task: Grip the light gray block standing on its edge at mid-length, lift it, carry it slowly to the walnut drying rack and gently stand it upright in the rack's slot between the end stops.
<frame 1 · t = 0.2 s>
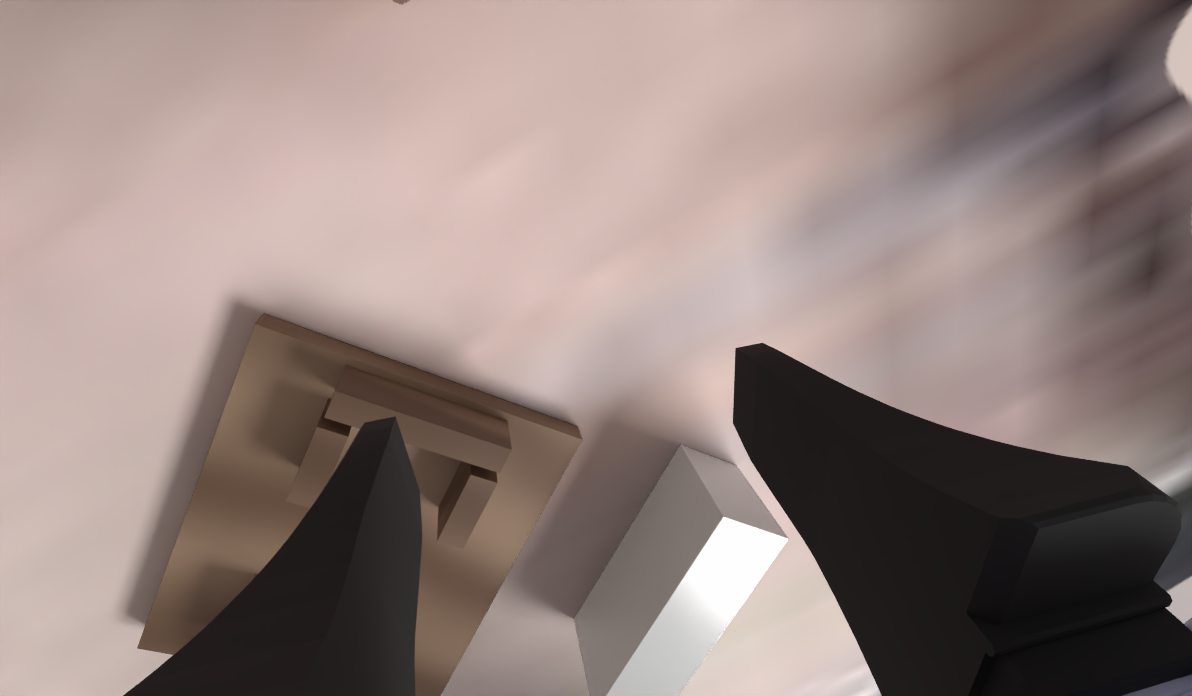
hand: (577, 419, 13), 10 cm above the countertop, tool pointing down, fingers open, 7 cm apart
light gray block: (652, 542, 29), on the countertop
rack: (364, 526, 25), on the countertop
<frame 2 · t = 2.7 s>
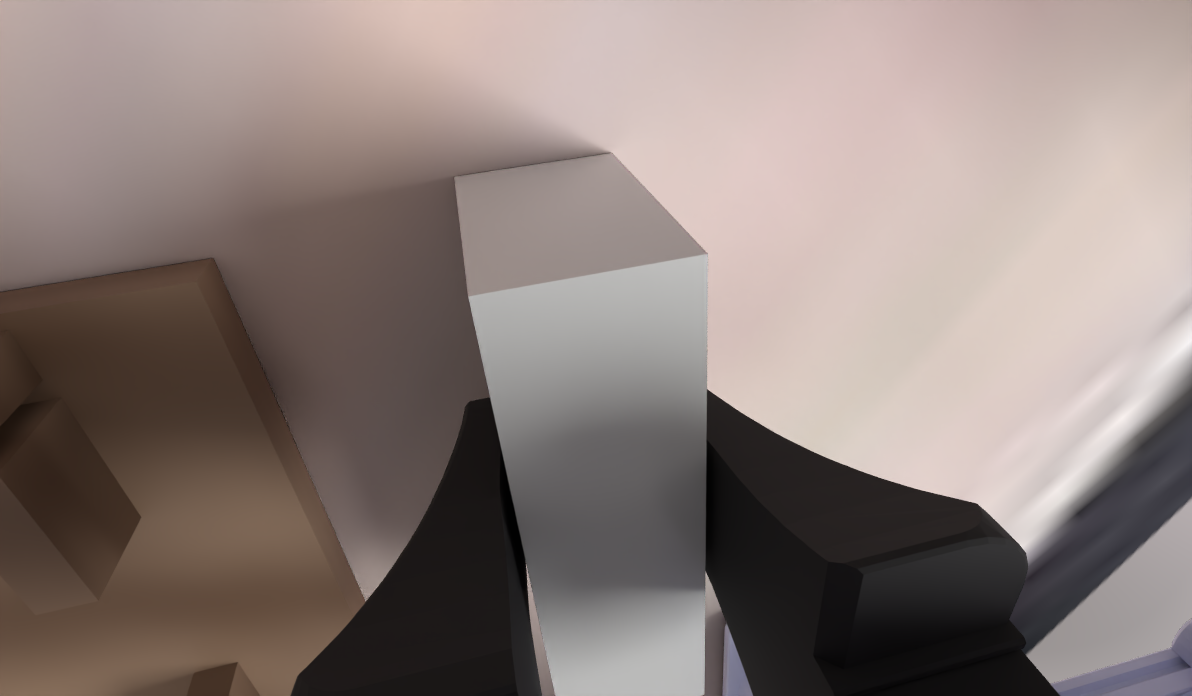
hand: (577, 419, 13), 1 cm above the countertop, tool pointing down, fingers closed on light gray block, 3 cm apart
light gray block: (564, 381, 15), on the countertop, touching gripper
rack: (63, 593, 15), on the countertop
when the fingers open (3 cm above the countertop, at t = 8.9 s): light gray block stays where it is, resting on rack.
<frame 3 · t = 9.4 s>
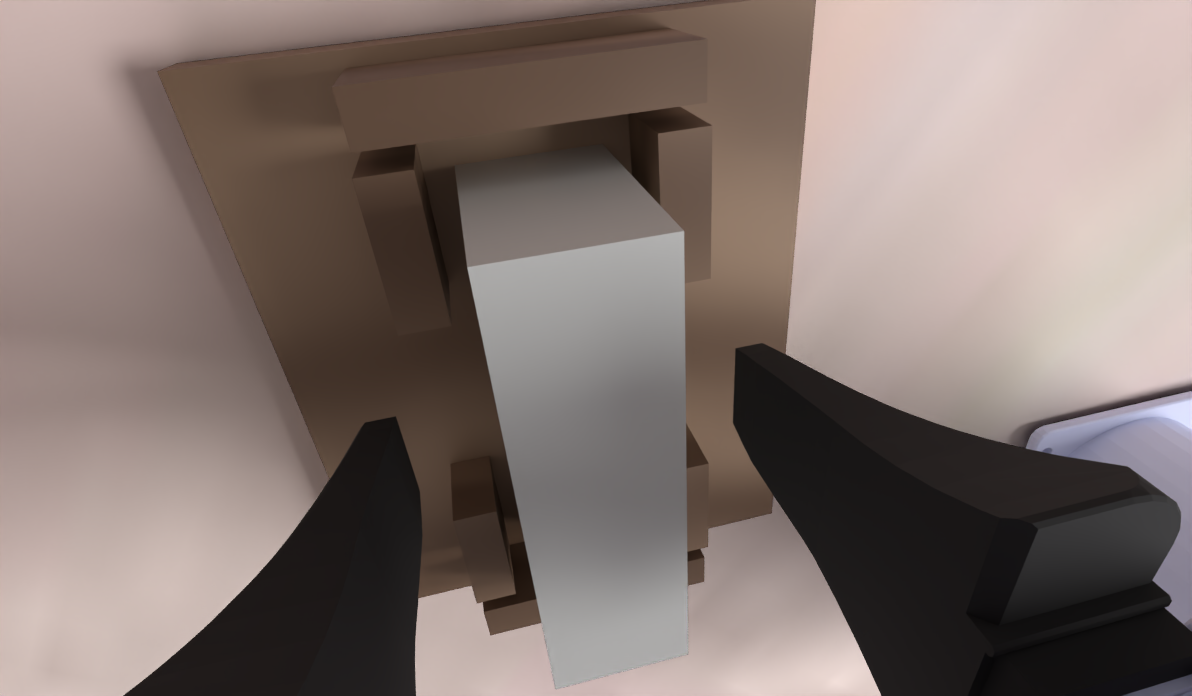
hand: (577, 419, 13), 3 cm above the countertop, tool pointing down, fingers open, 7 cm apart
light gray block: (558, 361, 15), point 1 cm above the countertop, touching rack
rack: (551, 338, 16), on the countertop
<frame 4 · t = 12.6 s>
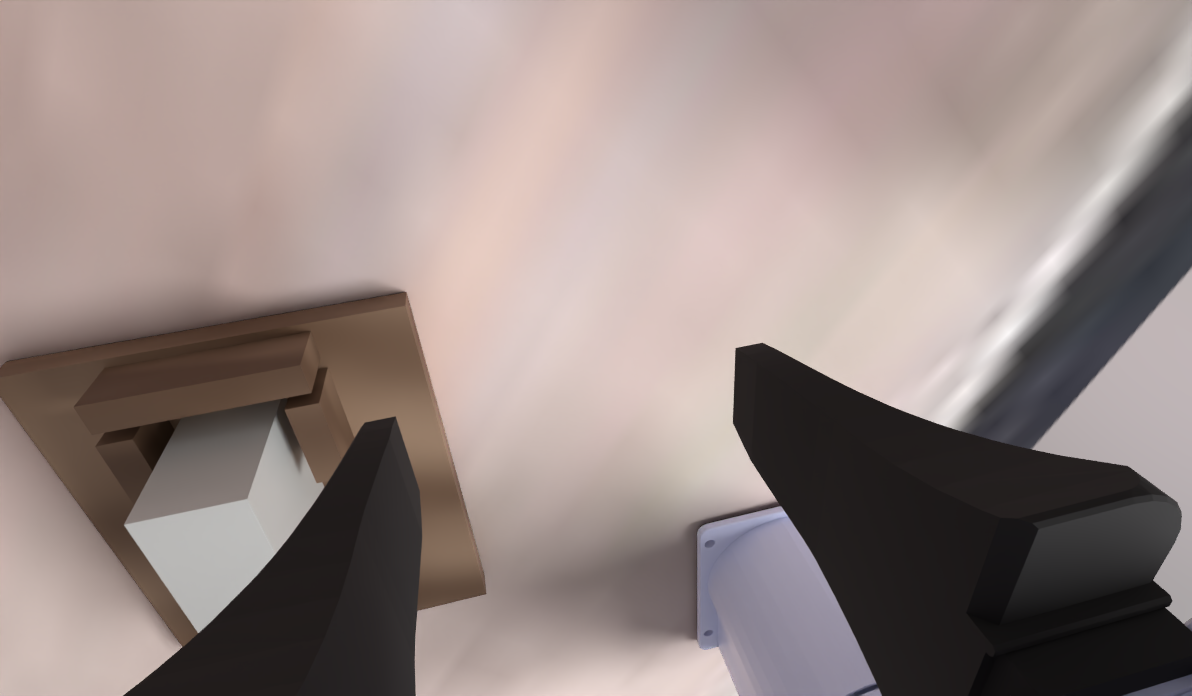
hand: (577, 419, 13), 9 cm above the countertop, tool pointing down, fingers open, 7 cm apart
light gray block: (287, 509, 23), point 1 cm above the countertop, touching rack
rack: (291, 489, 24), on the countertop
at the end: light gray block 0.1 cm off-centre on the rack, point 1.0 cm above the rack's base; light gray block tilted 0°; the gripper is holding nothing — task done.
